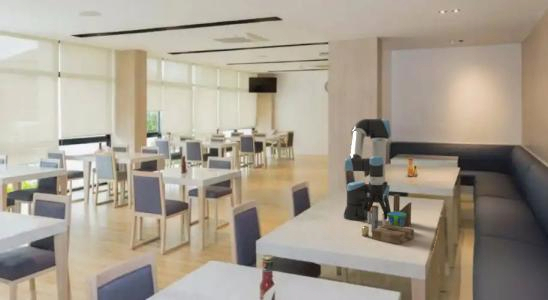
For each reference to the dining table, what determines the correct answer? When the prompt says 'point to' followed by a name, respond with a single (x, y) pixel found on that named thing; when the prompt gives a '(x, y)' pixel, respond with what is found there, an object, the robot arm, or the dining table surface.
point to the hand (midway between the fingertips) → (376, 223)
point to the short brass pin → (365, 231)
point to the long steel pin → (374, 217)
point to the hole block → (393, 234)
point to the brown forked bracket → (405, 210)
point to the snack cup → (396, 218)
